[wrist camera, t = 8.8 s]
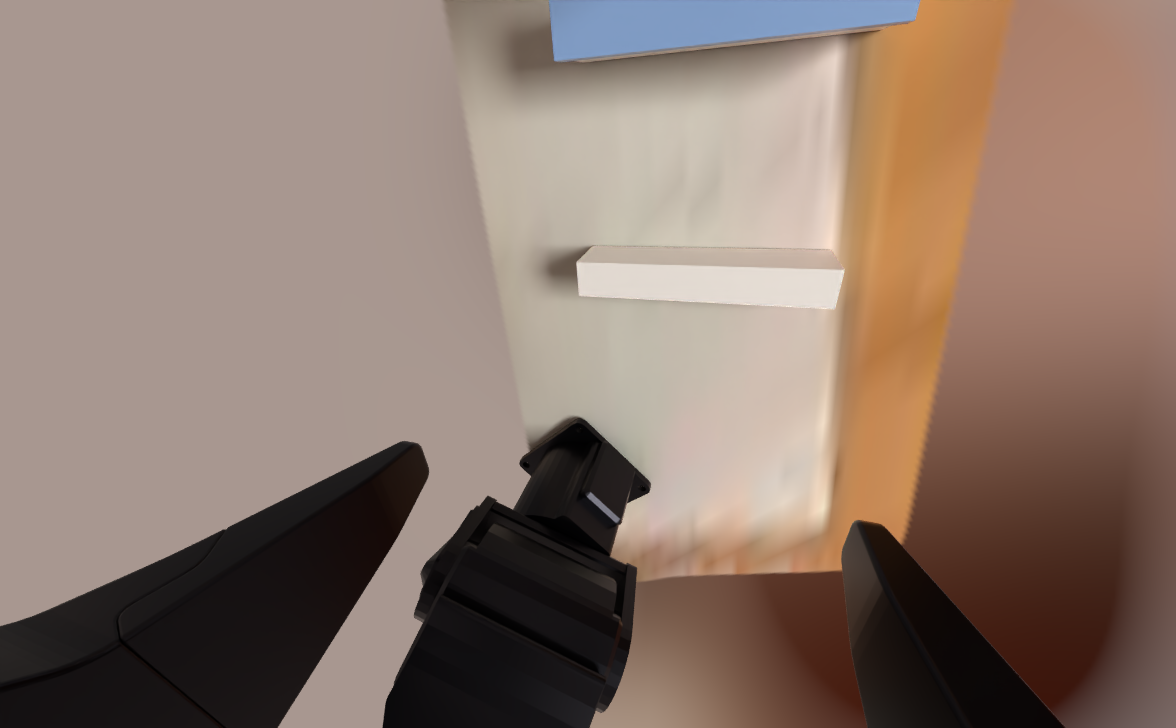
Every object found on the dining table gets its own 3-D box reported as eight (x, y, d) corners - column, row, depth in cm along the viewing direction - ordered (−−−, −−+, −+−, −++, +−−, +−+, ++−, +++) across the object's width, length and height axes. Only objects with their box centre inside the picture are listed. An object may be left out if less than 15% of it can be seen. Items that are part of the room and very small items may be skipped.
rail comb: (823, 285, 18) (837, 315, 15) (594, 276, 20) (574, 301, 18) (1035, -631, 8) (1170, -960, 6) (554, -415, 11) (499, -570, 8)
